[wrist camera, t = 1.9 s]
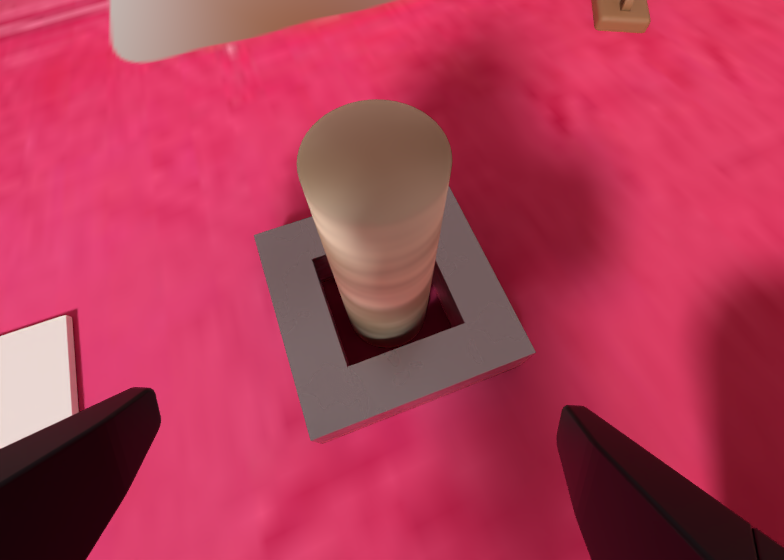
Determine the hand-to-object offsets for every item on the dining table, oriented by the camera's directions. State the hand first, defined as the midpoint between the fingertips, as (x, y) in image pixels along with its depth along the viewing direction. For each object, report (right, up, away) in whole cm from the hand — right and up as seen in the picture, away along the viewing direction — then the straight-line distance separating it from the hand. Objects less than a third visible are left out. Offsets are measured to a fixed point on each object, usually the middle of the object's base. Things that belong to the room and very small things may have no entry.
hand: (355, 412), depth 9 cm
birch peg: (+1, +1, +15) cm, 15 cm away
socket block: (+1, +1, +15) cm, 15 cm away
